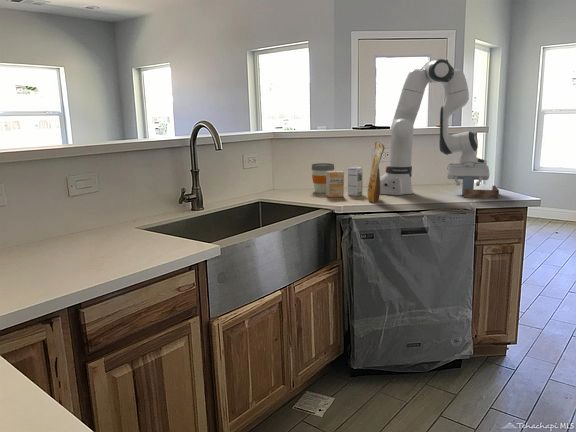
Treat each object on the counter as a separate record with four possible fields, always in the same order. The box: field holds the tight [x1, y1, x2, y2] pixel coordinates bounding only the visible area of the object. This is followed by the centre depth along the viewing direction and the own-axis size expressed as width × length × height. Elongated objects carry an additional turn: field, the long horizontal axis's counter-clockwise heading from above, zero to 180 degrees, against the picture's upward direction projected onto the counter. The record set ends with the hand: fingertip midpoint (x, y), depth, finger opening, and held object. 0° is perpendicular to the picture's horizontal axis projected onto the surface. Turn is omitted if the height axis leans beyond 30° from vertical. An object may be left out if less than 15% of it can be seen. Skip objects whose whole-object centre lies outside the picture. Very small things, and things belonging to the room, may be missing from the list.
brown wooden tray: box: [463, 185, 500, 200], centre depth 231 cm, size 16×17×4 cm
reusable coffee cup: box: [311, 162, 335, 194], centre depth 250 cm, size 12×13×15 cm
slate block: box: [461, 177, 475, 195], centre depth 233 cm, size 5×5×9 cm
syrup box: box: [347, 166, 363, 197], centre depth 238 cm, size 6×6×14 cm
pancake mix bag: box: [367, 141, 385, 204], centre depth 221 cm, size 7×19×28 cm, turn 173°
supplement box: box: [325, 170, 345, 198], centre depth 234 cm, size 8×5×13 cm, turn 105°
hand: (467, 185), depth 232 cm, fingers open, 8 cm apart
